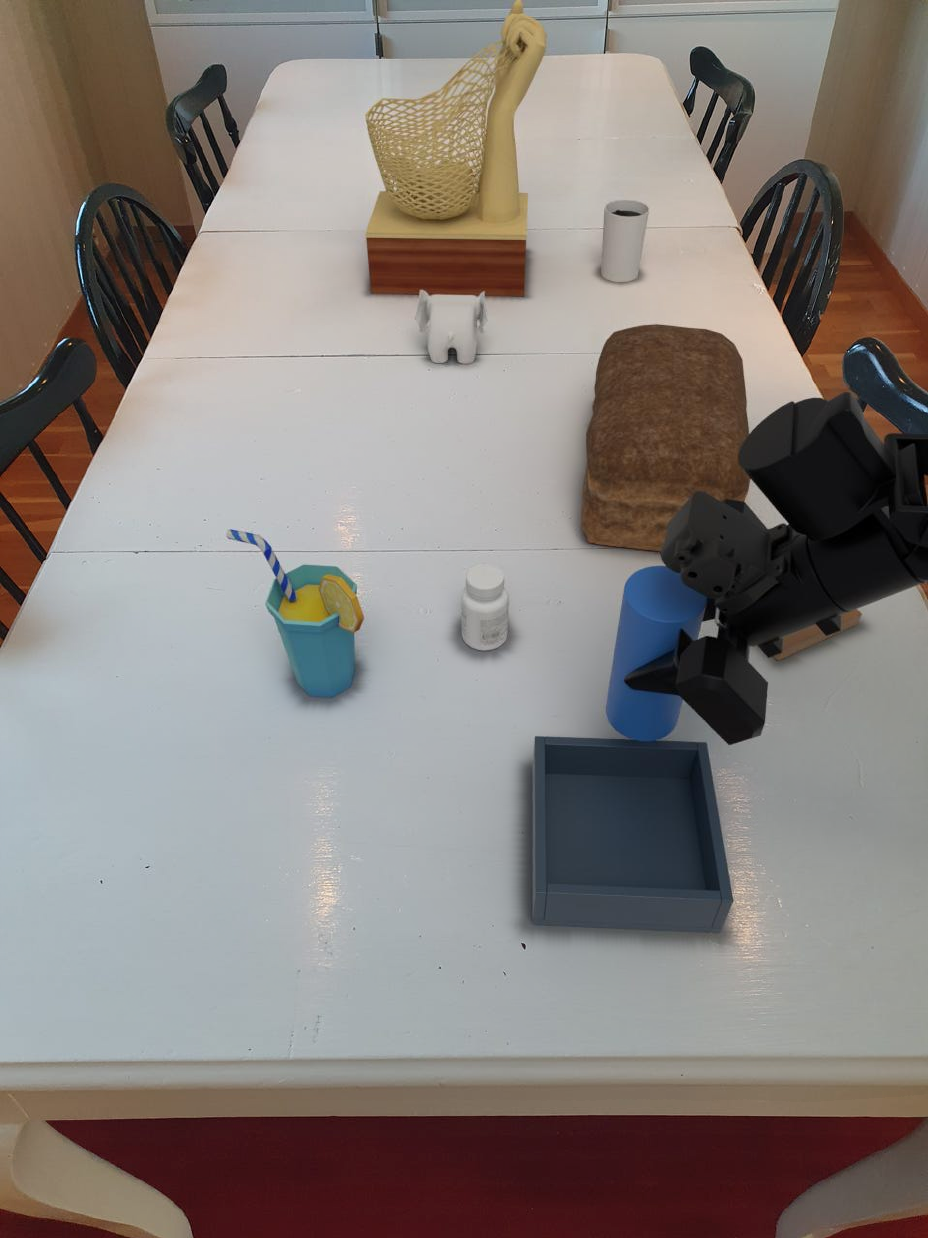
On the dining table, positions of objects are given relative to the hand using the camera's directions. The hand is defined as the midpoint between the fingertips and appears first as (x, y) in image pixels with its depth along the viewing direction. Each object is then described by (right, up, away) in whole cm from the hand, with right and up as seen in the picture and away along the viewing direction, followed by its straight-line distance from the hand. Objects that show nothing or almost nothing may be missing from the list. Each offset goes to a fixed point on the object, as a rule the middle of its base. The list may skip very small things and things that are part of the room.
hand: (633, 654), depth 67 cm
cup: (-26, -3, +17) cm, 31 cm away
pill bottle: (-11, +1, +20) cm, 23 cm away
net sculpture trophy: (-14, +57, +76) cm, 95 cm away
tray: (0, -15, +4) cm, 16 cm away
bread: (+10, +19, +38) cm, 44 cm away
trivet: (+19, +3, +22) cm, 29 cm away
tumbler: (+1, -5, +4) cm, 7 cm away
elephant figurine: (-14, +39, +59) cm, 72 cm away
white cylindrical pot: (+12, +56, +75) cm, 94 cm away
